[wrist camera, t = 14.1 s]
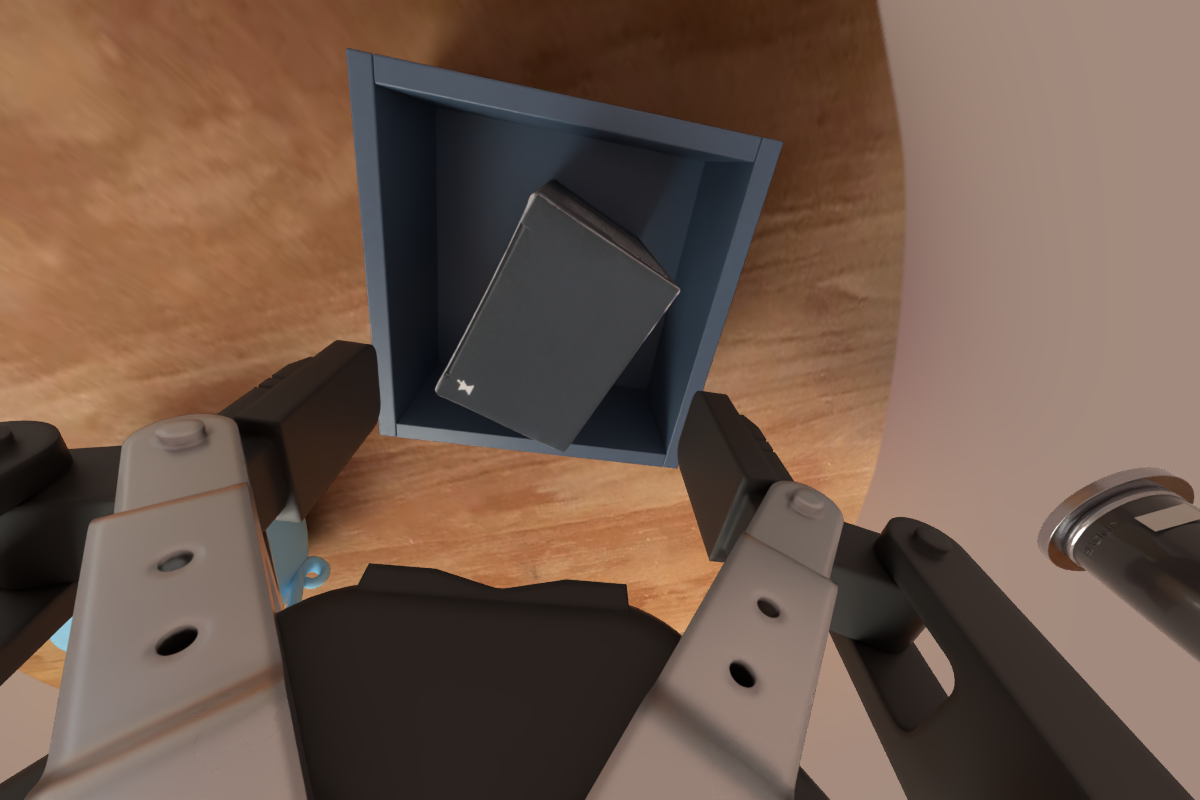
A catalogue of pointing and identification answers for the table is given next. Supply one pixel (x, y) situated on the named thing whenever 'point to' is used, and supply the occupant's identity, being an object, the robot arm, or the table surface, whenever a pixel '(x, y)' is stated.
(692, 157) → the tub
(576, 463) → the table surface
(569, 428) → the box
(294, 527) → the teapot
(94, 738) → the robot arm
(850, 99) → the table surface
